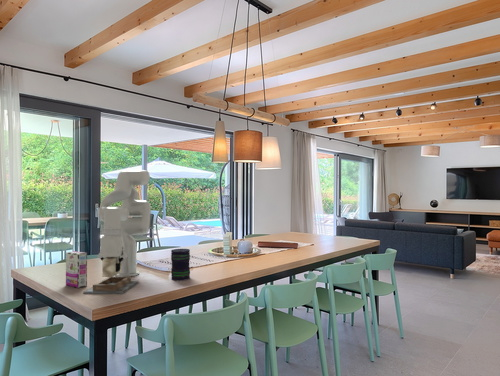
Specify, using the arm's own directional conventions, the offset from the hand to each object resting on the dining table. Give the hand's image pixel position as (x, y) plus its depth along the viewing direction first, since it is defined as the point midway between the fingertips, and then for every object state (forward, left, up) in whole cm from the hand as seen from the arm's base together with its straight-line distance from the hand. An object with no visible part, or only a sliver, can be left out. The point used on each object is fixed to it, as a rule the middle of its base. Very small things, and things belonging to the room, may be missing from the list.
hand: (112, 270), depth 172 cm
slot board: (0, 0, -8) cm, 8 cm away
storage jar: (-20, +28, -8) cm, 36 cm away
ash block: (0, 0, -2) cm, 2 cm away
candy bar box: (-4, -20, -8) cm, 22 cm away
